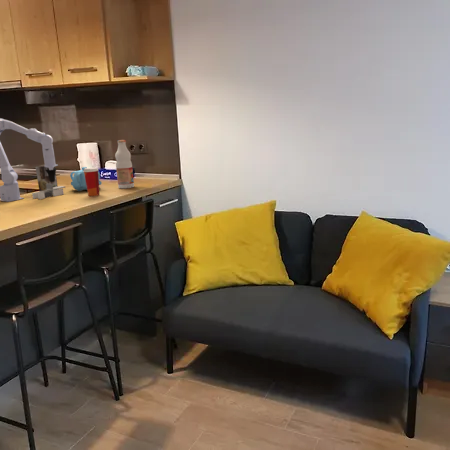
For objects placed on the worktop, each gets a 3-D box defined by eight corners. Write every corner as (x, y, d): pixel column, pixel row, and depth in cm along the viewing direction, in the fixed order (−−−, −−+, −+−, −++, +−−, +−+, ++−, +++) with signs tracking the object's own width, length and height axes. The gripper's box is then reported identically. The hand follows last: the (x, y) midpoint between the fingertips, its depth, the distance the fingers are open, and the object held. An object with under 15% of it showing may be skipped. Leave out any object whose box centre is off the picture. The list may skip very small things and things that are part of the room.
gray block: (45, 198, 258) (44, 193, 258) (41, 197, 261) (41, 193, 260) (51, 196, 261) (51, 192, 261) (48, 196, 264) (47, 192, 263)
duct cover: (52, 190, 260) (51, 184, 260) (46, 189, 263) (45, 183, 262) (65, 187, 268) (64, 181, 267) (59, 187, 270) (58, 181, 270)
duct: (39, 199, 254) (38, 193, 253) (32, 198, 257) (32, 193, 256) (63, 194, 267) (63, 188, 266) (57, 193, 270) (56, 188, 269)
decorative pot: (103, 189, 275) (101, 167, 272) (76, 193, 268) (73, 169, 265) (97, 186, 289) (94, 164, 286) (70, 189, 282) (67, 167, 279)
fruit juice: (116, 187, 281) (111, 140, 274) (130, 185, 286) (126, 139, 279) (121, 189, 273) (116, 141, 266) (136, 187, 278) (132, 139, 271)
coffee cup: (95, 193, 264) (92, 167, 260) (104, 194, 259) (101, 167, 255) (83, 195, 258) (79, 169, 254) (91, 197, 253) (88, 169, 249)
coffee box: (58, 191, 277) (55, 164, 273) (52, 193, 271) (48, 166, 267) (45, 191, 280) (41, 164, 276) (39, 193, 274) (34, 166, 270)
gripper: (57, 157, 250) (60, 182, 254) (56, 155, 263) (59, 179, 267) (43, 158, 248) (47, 183, 251) (42, 156, 261) (46, 180, 264)
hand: (52, 181), depth 259 cm, fingers closed
